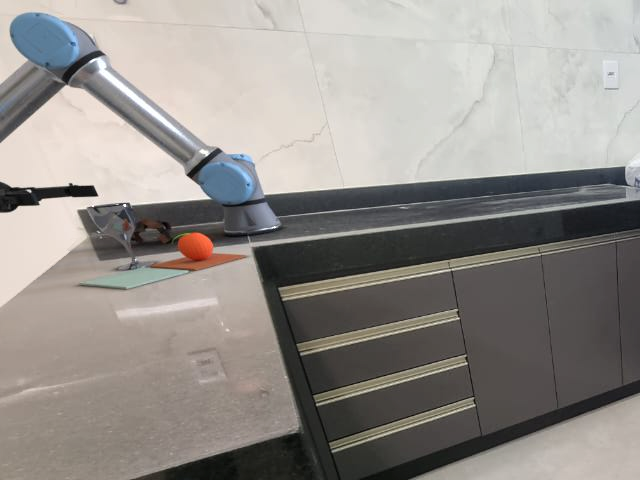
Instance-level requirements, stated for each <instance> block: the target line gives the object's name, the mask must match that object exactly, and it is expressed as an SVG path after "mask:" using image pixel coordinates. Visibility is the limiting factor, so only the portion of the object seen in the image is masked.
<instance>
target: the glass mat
mask: <svg viewBox="0 0 640 480" xmlns="http://www.w3.org/2000/svg"><path fill="white" fill-rule="evenodd" d="M188 273H189V270H179V269H164V268H151V267H142V268H137V269H129V270H125V271H122V272H118V273H114V274H110V275H106V276H103V277H98V278H94V279H90V280H86V281H82V282H79V285H80V286H88V287H97V288H99V287H100V288H108V289H110V288H111V289H119V290H128V289H133V288H136V287H140V286H144V285H147V284H151V283H155V282H159V281H163V280H166V279H170V278H173V277H177V276H180V275H184V274H188Z"/></svg>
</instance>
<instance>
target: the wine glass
mask: <svg viewBox="0 0 640 480" xmlns="http://www.w3.org/2000/svg"><path fill="white" fill-rule="evenodd" d="M86 210H87V212H88V214H89V217H90V219H91V220H92V221H93V223H94V224H95V225H96V226H97V228H98V229H99V230H100V232H103V233H104V234H106V235H108V236H109V237H111V238H113V239H115V240H117V241H118V242H119V243H121V245H123V247H124V248H125V250H126V251H127V253H128V255H129V257H130V259H131V262H129V263H128V264H125V265H122V266H120V267H118V269H117V270H120V271H130V270H134V269H138V268H143V267H144V268H148V267H150V266H151V265H155V262H154V261H140V260H137V259H136V256H135V254H134V252H133V248H132V245H131V241H130V240H131V237H132V235H133V233H134V231H135V229H136V227H137V222H138V221H137V217H136V214H135V211H134V207H133V206H132V204H131V202H114V203H105V204H98V205H97V204H96V205H91V206H88V207H86Z"/></svg>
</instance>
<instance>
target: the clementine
mask: <svg viewBox="0 0 640 480" xmlns="http://www.w3.org/2000/svg"><path fill="white" fill-rule="evenodd" d="M178 237H179V239H178V240H177V248H178V250H179V252H180V254H182V255H183V256H184V257H187V258H189V259H192V260H204V259H206V258H208V257H209V256H210V255H211V254H212V253H213V252H214V244H213V242H212V241H211V239H210V238H209V237H208V236H206V235H205V234H203V233H200V232H192V231H189V232H187V233H181V234H179V235H177V236H176V237H174V238H173V240H171V243H173V242H174V240H175V239H177V238H178Z"/></svg>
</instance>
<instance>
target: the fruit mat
mask: <svg viewBox="0 0 640 480" xmlns="http://www.w3.org/2000/svg"><path fill="white" fill-rule="evenodd" d="M246 257H247V255H246V254H233V253H232V254H231V253H229V254H228V253H216V252H215V253H213V252H212V254H211V255H210V256H209V257H208V258H206V259H204V260H192V259H189V258H187V257H185V256H184V257H179V258H176V259H171V260H167V261H164V262H160V263H159V262H158V263H156V264H153V265H150V266H149V268H159V269H173V270H188V271H194V272H195V271H199V270H203V269H206V268H211V267H213V266H217V265H221V264H225V263H229V262H233V261H236V260H240V259H243V258H246Z"/></svg>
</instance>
